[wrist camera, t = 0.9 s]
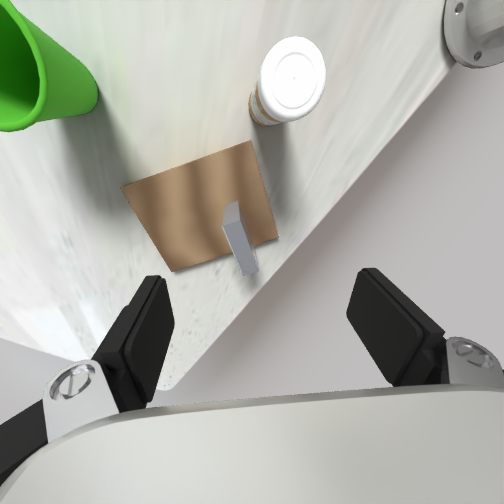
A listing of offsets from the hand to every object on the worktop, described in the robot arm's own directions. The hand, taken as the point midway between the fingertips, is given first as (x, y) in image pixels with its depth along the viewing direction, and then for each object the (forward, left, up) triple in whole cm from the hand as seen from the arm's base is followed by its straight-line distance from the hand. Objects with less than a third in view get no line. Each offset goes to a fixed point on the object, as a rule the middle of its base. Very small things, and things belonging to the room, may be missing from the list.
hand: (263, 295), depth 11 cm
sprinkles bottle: (-6, -9, -23) cm, 26 cm away
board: (+6, +1, -23) cm, 24 cm away
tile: (+2, +4, -22) cm, 22 cm away
